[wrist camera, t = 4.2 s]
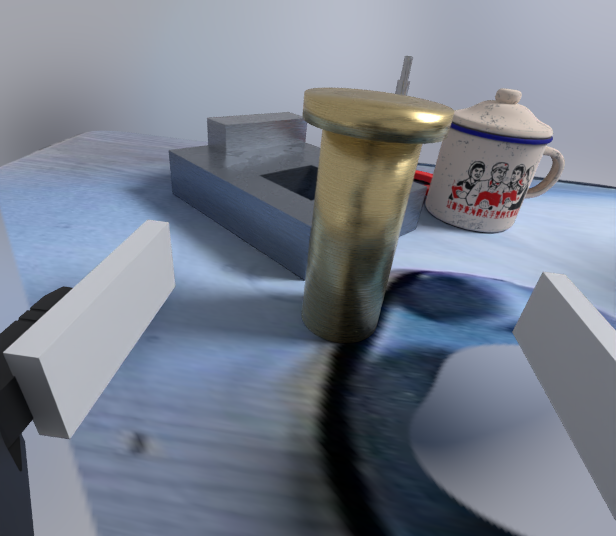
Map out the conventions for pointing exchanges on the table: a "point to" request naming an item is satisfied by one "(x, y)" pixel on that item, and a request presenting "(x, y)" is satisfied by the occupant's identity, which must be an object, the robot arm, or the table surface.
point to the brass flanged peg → (361, 201)
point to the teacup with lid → (491, 164)
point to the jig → (261, 183)
